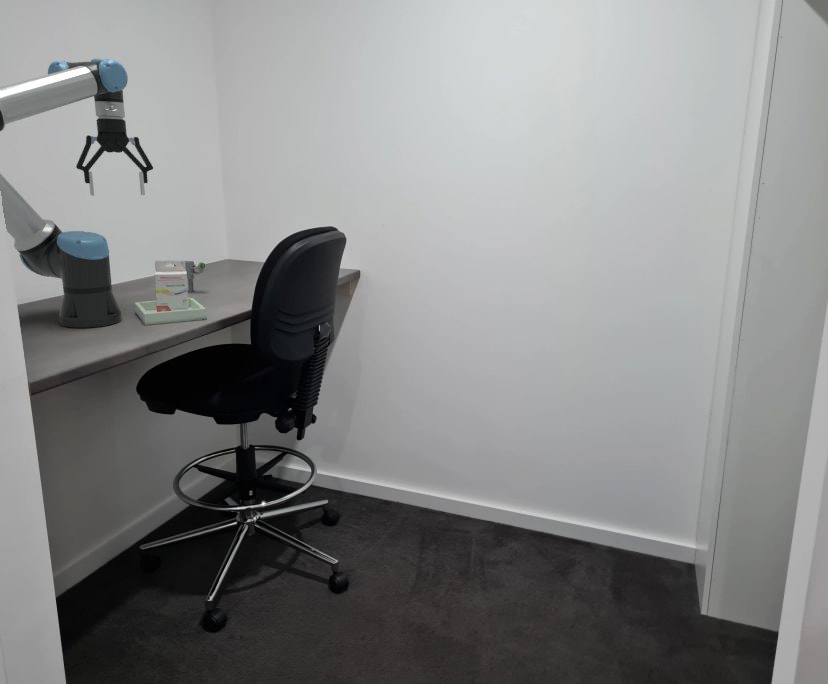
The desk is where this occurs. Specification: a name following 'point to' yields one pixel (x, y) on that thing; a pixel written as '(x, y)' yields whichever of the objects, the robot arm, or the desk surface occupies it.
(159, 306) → the ink cartridge box
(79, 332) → the desk surface
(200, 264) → the mechanical component
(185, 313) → the tray
